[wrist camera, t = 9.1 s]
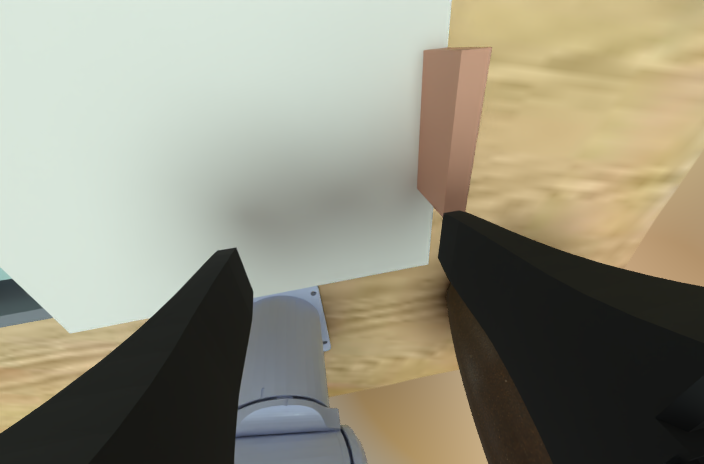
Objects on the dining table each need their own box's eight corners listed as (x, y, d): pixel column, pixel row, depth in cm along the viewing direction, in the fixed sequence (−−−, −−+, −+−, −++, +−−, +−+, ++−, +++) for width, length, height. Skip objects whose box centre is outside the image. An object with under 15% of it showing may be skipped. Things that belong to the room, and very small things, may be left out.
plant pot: (410, 240, 24) (563, 483, 10) (571, 208, 25) (885, 386, 12) (409, 345, 32) (492, 552, 19) (529, 316, 33) (685, 491, 20)
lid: (423, 256, 18) (450, 299, 15) (78, 321, 16) (27, 387, 13) (453, -158, 9) (544, -272, 6) (-370, -133, 7) (-957, -294, 4)
